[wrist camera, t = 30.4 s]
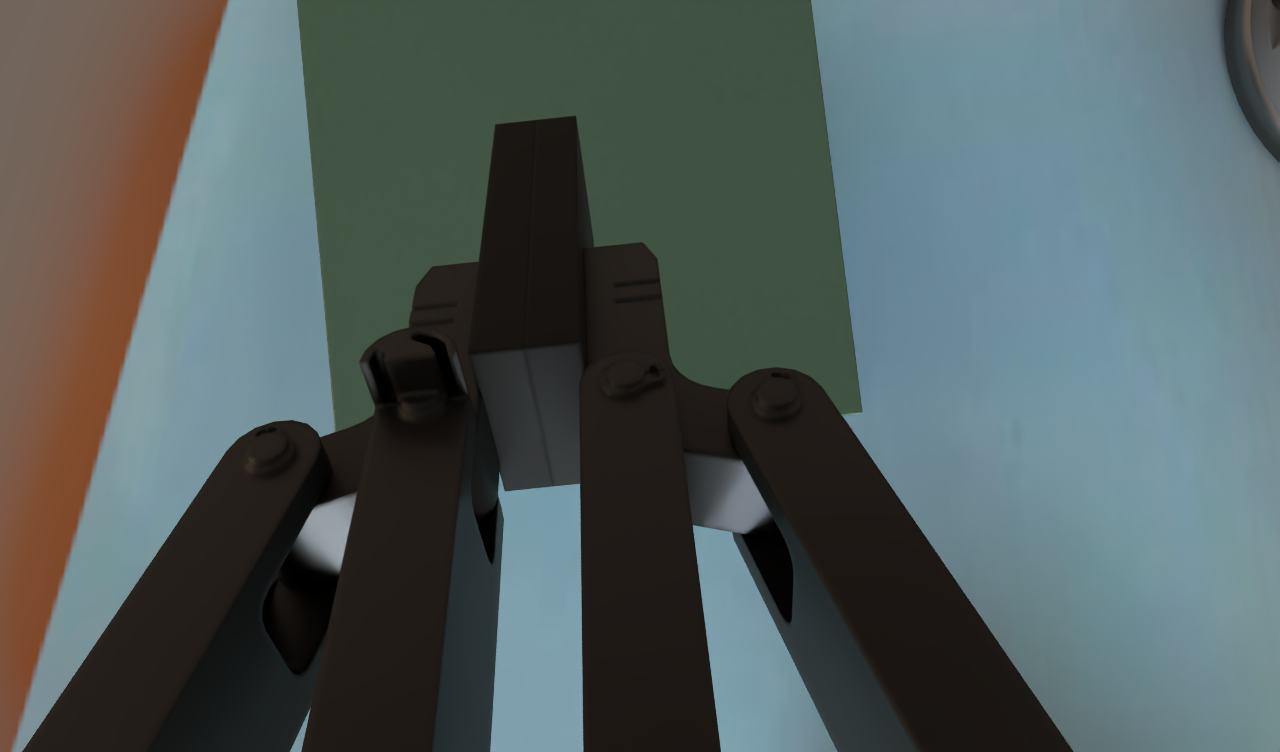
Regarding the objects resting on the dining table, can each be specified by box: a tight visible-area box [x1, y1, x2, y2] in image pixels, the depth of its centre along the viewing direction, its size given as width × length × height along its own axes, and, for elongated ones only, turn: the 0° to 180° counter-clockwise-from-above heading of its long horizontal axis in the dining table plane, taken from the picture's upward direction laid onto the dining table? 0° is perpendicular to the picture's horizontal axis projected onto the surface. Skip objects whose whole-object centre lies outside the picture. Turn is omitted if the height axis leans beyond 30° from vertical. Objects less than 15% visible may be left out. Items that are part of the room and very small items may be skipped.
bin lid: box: [297, 0, 862, 432], centre depth 29 cm, size 17×16×1 cm
